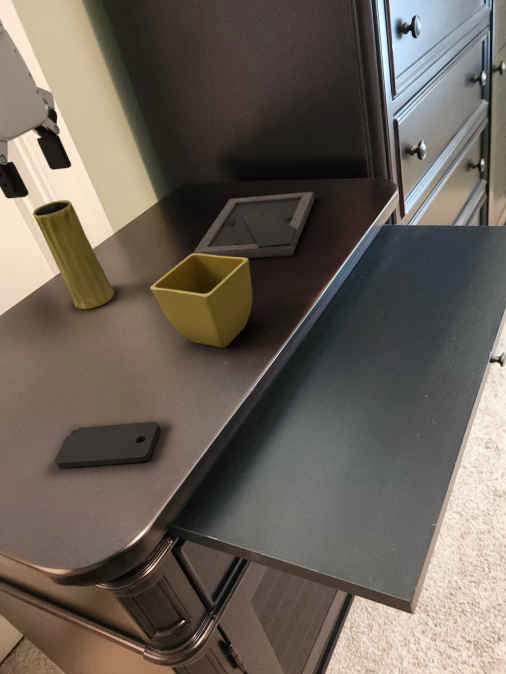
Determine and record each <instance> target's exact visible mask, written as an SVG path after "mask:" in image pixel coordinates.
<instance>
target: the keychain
mask: <svg viewBox="0 0 506 674" xmlns="http://www.w3.org/2000/svg"><path fill="white" fill-rule="evenodd" d="M160 430H161V428H160V426H159V423H158V422H157V421H144V422H131V423H119V424H108V425H107V424H106V425H97V426H85V427H78V429H77V430H72V431H71V432H70V434H69V435H66V437H65V439H64V441H63V442H62V445H61V446H60V449H59V450H58V452H57V454H56V456H55V458H54V463H55V465H56V466H57V467H58V468H60V469H62V468H76V467H77V468H78V467H79V468H80V467H90V466H104V465H118V464H131V463H143V462H147V461H148V460H150V458H151V457H152V453H153V451H154V447H155V444H156V441H157V439H158V437H159V432H160Z"/></svg>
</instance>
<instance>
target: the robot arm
mask: <svg viewBox="0 0 506 674" xmlns="http://www.w3.org/2000/svg"><path fill="white" fill-rule="evenodd" d="M30 131H32V132H33V133H35V134H36V135H37V136H39V137H38V138H36V141H37V144H38V146H39V148H40V150H41V153H42V155H43V157H44V159H45V162H46V163H47V166H48V167H49V169H50V170H53V171H54V170H62V169H63V170H64V169H69V168H71V167H72V162H71V159H70V158H69V156H68V153H67V151H66V149H65V146H64V144H63V141H62V139H61V138H60V133H61V130H60V127H59V126H58V113H57V111H56V107H55V100H54V95H53V93H52V92H51V91H49V90H46V89H44V88H41V87H39V86H38V85H37V83H36V81H35V79H34V77H33V75H32V73H31V70H30V69H29V67H28V65H27V63H26V61H25V60H24V57H23V56H22V54H21V52H20V50H19V48H18V47H17V46H16V43H15V42H14V40H13V38H12V37H11V35H10V34H9V32H8V30H7V29H6V28H5V27H4V25H3V22H2V20H1V18H0V190H1V191H2V193H3V195H4V197H5V198H6V199H18V198H26V197H27V196H29V195H30V194H29V190H28V188H27V186H26V184H25V182H24V180H23V178H22V176H21V174H20V172H19V170H18V167H16V164H15V163H14V161H9V158H8V155H9V152H8V151H9V149H8V147H9V146H8V145H9V144H8V142H10V141H13V140H15V139H17V138H19V137H20V136H22V135H25V134H26V133H28V132H30Z"/></svg>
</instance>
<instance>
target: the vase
mask: <svg viewBox="0 0 506 674" xmlns="http://www.w3.org/2000/svg"><path fill="white" fill-rule="evenodd" d="M32 216H33V218H34V220H35V222H36V224H37V226H38V227H39V230H40V232H41V234H42V237H43V238H44V241H45V242H46V244H47V246H48V249H49V251H50V253H51V255H52V257H53V260H54V262H55V264H56V266H57V269H58V271H59V272H60V274H61V277H62V279H63V281H64V283H65V286H66V287H67V290H68V291H69V293H70V295H71V298H72V300H73V305H74V307H76V308H77V309H79V310H91V309H96V308H98V307H101V306H103V305H105V304H107V303H108V302H110V301H111V300H112V299H113V297H114V295H115V290H114V288H113V287H112V285H111V283H110V281H109V279H108V276H107V275H106V273H105V270H103V267H102V265H101V263H100V261H99V260H98V257H97V256H96V253H95V251H94V250H93V247H92V245H91V243H90V240H89V239H88V237H87V234H86V232H85V231H84V227H83V225H82V223H81V221H80V218H79V216H78V213H77V212H76V209H75V208H74V205H73V204H72V202H71V201H70V200H67V199H62V200H61V199H60V200H56V201H51V202H47V203H44V204H43V205H40V206H39V207H37V208H35V209H34V210H33V212H32Z"/></svg>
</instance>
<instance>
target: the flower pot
mask: <svg viewBox="0 0 506 674" xmlns="http://www.w3.org/2000/svg"><path fill="white" fill-rule="evenodd" d="M150 291H151V292H152V294H153V296H154V297H155V299H156V301H157V303H158V304H159V306H160V308H161V310H162V311H163V314H164V315H165V317H166V318H167V319H168V321H169V323H171V325H172V326H173V327H174V328H175V329H176V330H177V332H179V333H180V334H181V335H182V336H184V337H186V338H187V339H188V340H190V341H192V342H193V343H194V344H201V345H206V346H210V347H211V346H212V347H216V348H222V349H223V348H226V347H228V346H229V345H230V343H231V342H232V341H233V340H234V339H235V338H236V337H238V335H239V334H240V333H241V332H242V331H243V330H244V329H245V327H246V325H247V323H248V321H249V318H250V315H251V311H252V305H253V285H252V278H251V269H250V260H249V258H242V257H229V256H216V255H209V254H200V253H194V252H193V253H190V254H189V255H187V256H186V257H185V258H184V259H183V260H182V261H180V262H179V263H178V264H177V265H176V266H174V267H173V268H171V270H169V271H168V272H167V273H166V274H164V275H163V276H162V277H161V278H159V279H158V280H156V282H154V283H153V284H152V285H151V286H150Z"/></svg>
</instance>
